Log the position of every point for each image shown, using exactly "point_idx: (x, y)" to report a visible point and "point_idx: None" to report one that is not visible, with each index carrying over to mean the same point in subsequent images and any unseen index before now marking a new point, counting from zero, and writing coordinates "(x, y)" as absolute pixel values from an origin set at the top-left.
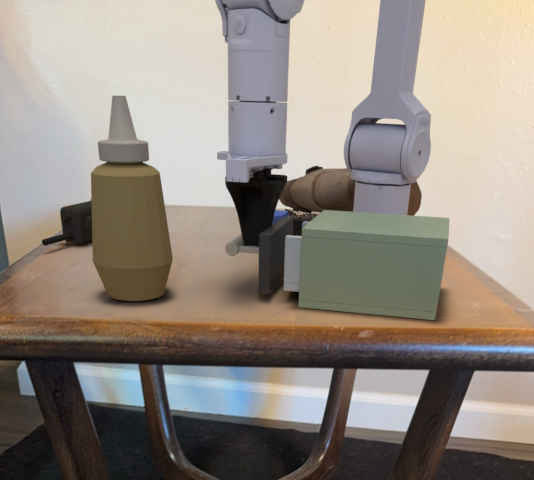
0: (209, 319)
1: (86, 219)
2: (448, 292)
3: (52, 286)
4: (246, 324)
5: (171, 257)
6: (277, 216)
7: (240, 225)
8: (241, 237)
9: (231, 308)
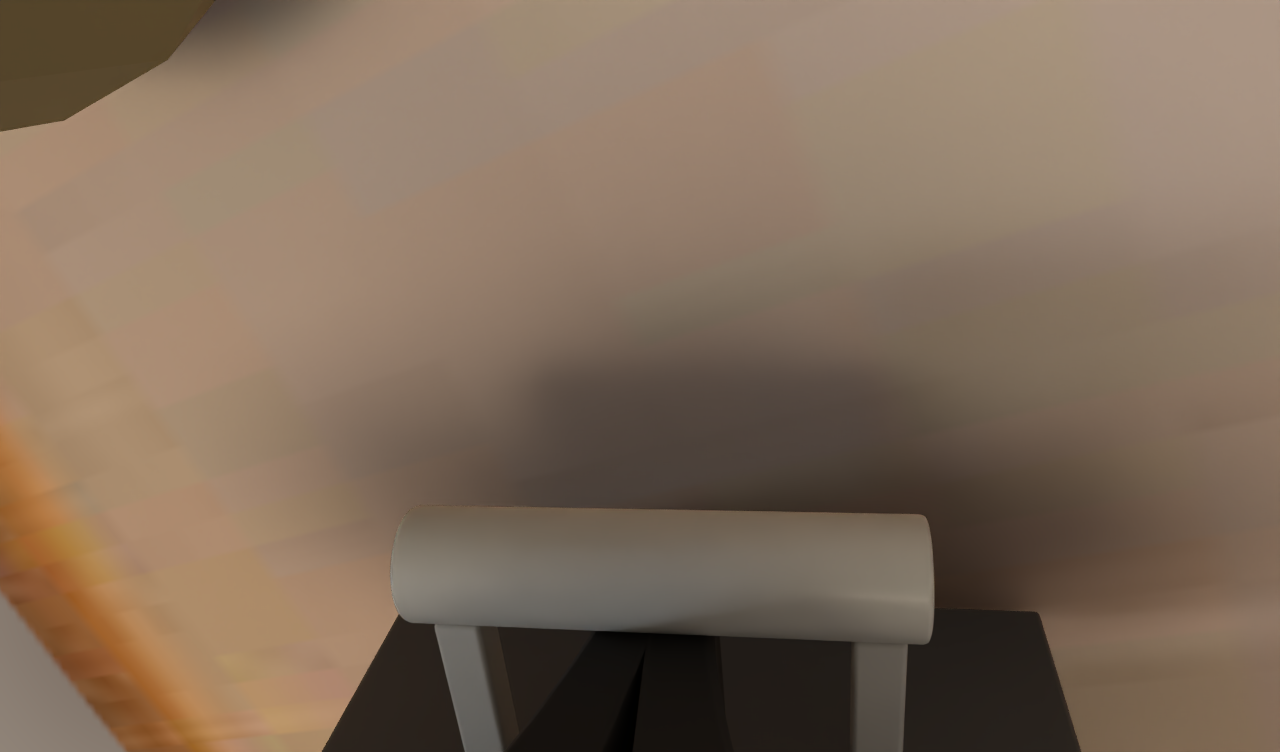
0: (41, 416)
1: None
2: None
3: None
4: (97, 578)
5: (34, 125)
6: None
7: (524, 728)
8: (643, 622)
9: (255, 462)
